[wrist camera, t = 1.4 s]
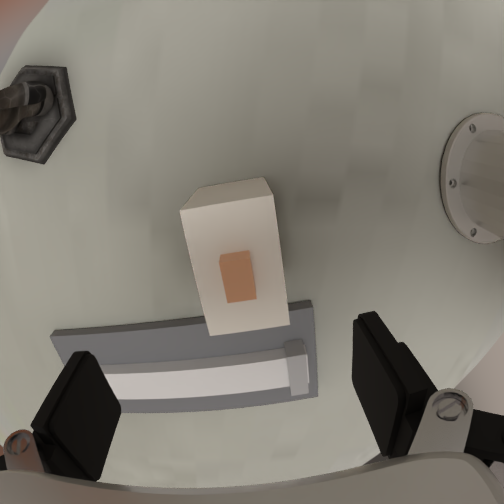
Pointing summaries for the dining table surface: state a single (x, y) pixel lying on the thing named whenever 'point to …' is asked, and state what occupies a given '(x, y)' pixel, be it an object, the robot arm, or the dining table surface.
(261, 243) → the block
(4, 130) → the figurine
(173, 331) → the rail plate
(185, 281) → the dining table surface
